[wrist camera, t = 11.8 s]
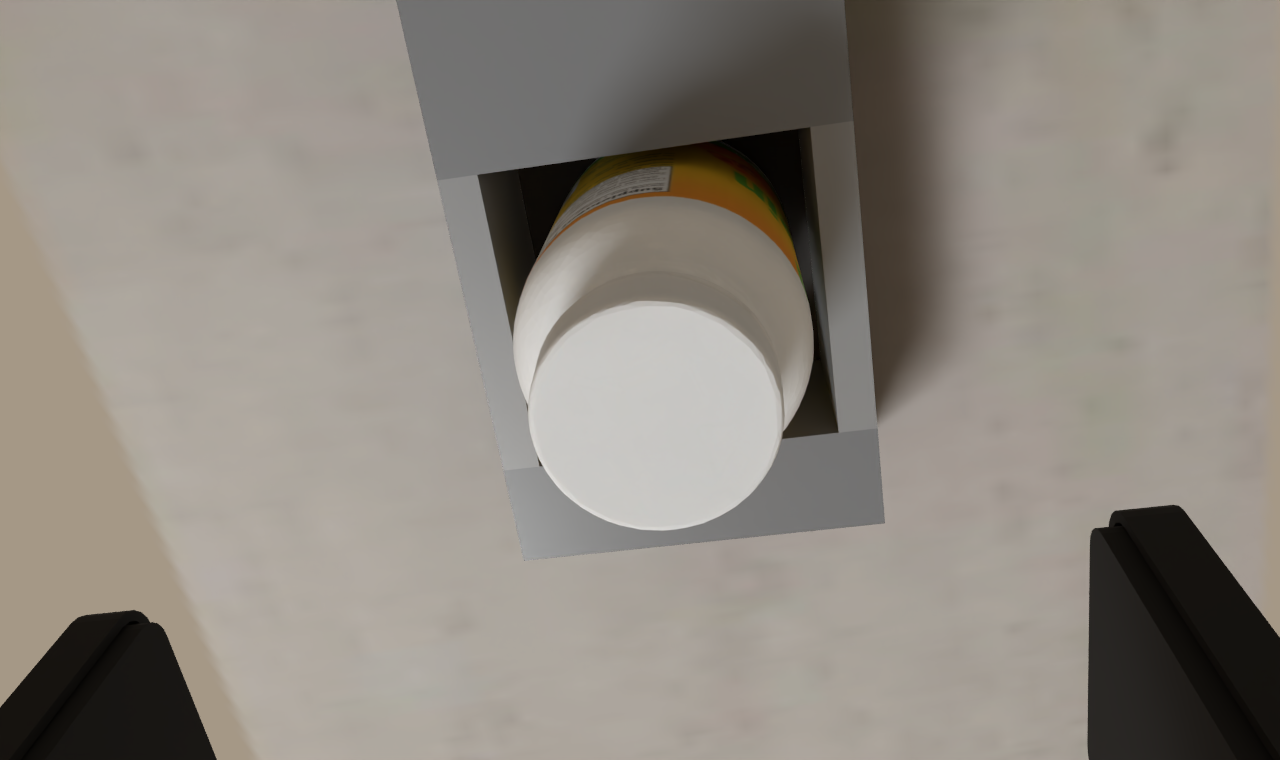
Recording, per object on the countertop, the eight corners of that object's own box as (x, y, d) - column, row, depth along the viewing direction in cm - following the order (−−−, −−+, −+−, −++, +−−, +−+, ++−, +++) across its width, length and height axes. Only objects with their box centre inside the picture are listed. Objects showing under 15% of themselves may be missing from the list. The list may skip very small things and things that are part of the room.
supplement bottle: (824, 297, 26) (885, 501, 17) (619, 382, 27) (578, 614, 18) (733, 85, 24) (749, 191, 16) (518, 186, 26) (417, 338, 17)
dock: (422, -114, 23) (369, -117, 19) (808, -181, 22) (828, -196, 19) (547, 475, 29) (523, 560, 25) (861, 440, 28) (884, 522, 24)
